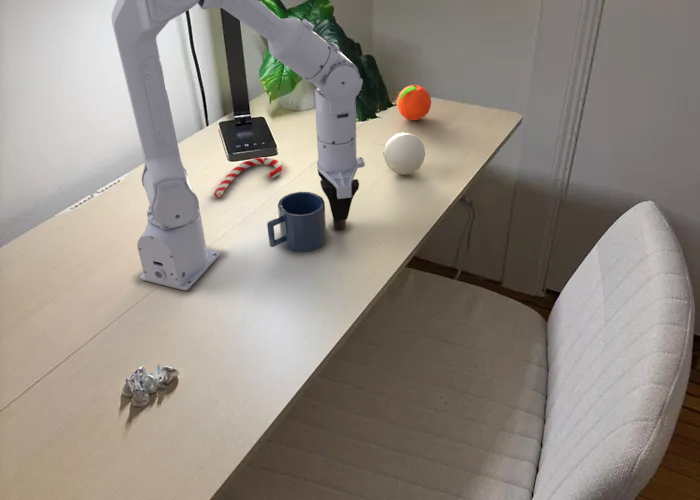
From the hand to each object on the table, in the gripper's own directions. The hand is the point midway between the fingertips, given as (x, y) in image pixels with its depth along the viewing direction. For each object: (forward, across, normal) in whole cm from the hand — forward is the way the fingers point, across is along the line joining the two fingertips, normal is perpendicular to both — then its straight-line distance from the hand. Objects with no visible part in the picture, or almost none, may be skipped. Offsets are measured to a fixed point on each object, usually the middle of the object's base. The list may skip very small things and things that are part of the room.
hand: (339, 214), depth 106 cm
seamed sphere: (+3, +17, -13) cm, 21 cm away
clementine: (+3, +37, -20) cm, 42 cm away
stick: (+2, 0, 0) cm, 2 cm away
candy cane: (+3, +17, +14) cm, 23 cm away
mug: (+2, -3, +7) cm, 8 cm away
